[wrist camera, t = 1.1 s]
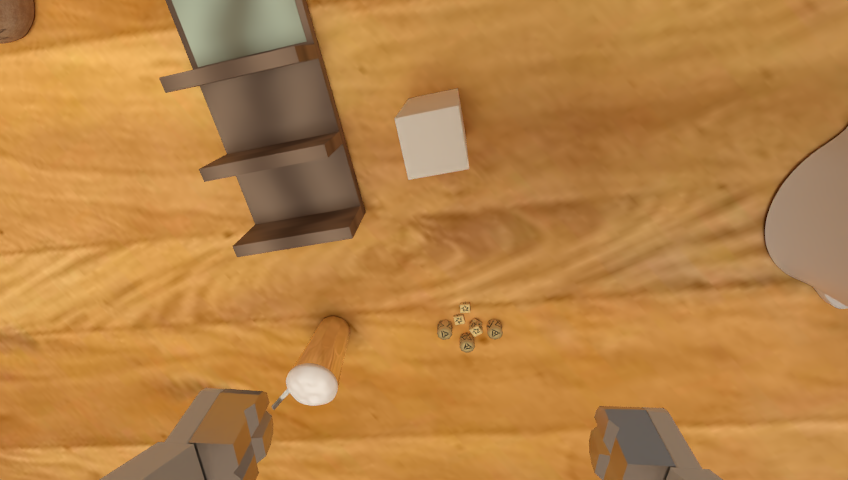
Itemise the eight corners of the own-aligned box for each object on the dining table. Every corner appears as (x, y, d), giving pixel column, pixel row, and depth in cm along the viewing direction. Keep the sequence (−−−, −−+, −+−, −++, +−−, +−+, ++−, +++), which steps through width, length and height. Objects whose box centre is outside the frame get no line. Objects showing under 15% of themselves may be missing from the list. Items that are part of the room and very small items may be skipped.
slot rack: (290, -56, 31) (258, -74, 26) (365, 212, 39) (352, 238, 34) (164, -22, 32) (111, -32, 27) (263, 229, 41) (237, 257, 36)
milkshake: (299, 317, 45) (260, 388, 36) (346, 306, 44) (318, 376, 35) (316, 350, 47) (283, 427, 38) (362, 340, 46) (340, 416, 37)
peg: (457, 88, 34) (458, 105, 26) (466, 138, 36) (469, 169, 28) (408, 98, 35) (394, 118, 27) (419, 147, 36) (408, 180, 28)
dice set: (504, 321, 44) (505, 333, 42) (468, 349, 46) (468, 361, 44) (469, 291, 43) (469, 302, 41) (433, 321, 45) (432, 332, 43)
